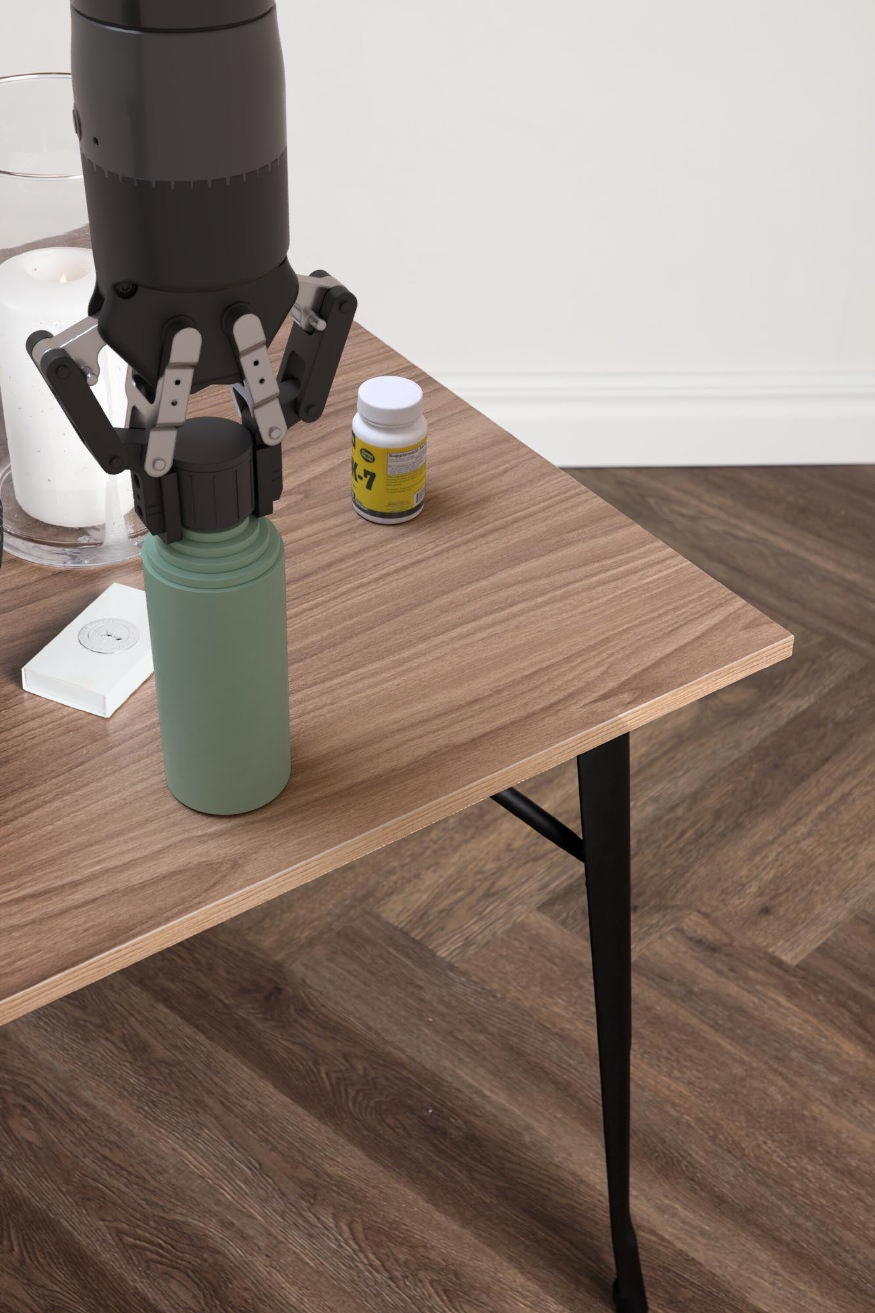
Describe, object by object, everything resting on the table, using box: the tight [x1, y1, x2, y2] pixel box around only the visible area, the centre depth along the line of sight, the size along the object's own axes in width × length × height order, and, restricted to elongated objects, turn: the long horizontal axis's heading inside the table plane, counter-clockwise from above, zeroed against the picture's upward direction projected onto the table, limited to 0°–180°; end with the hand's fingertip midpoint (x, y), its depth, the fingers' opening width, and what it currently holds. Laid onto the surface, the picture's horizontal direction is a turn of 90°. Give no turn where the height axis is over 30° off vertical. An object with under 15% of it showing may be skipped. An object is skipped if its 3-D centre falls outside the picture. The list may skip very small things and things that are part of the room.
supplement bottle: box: [350, 375, 429, 525], centre depth 89 cm, size 5×5×8 cm
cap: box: [171, 415, 255, 530], centre depth 61 cm, size 4×4×3 cm
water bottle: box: [140, 513, 292, 816], centre depth 67 cm, size 6×6×19 cm
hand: (212, 518), depth 63 cm, fingers closed on cap, 3 cm apart
